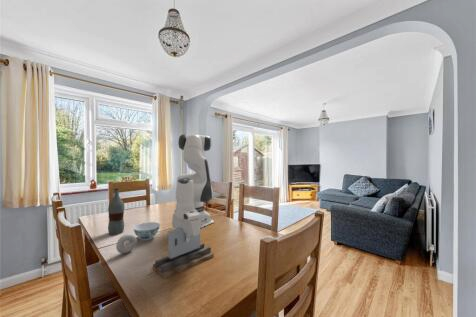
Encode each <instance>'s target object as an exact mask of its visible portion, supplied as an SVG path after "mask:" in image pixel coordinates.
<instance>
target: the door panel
mask: <svg viewBox="0 0 476 317" xmlns="http://www.w3.org/2000/svg"><path fill="white" fill-rule="evenodd" d="M167 234H168V235H167V236H168V237H167V241H168V242H167V244H168V245H167V250H168V251H167V254H168V255H167V256H168V257H169V258H170V259H172V258H174V257H177V256H179V255H182V254H184V253H187V252H190V251H192V250H195V249H197V248H200V244H201V233H200V234H199V235H198V236H195V237H192V236H190V241H189V242H185V238H186V233H184V232H183V229H182V228H178V229H176V228H174V229H171V230H168V231H167Z"/></svg>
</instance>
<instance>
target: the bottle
mask: <svg viewBox="0 0 476 317" xmlns="http://www.w3.org/2000/svg"><path fill="white" fill-rule="evenodd" d="M113 189H114V192H113V197H112V199H111V200H110V202H109V204H108V206H107V207H108V208H107V211H108V212H107V213H108V224H107V225H108V227H107V229H108V230H107V231H108V235H110V236H116V235H120V234H122V233H123V232H124V229H125V221H124V214H125V203H124V201H123V200H122V198H121V197H120V190H119V189H120V188H119V187H114V188H113Z"/></svg>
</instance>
